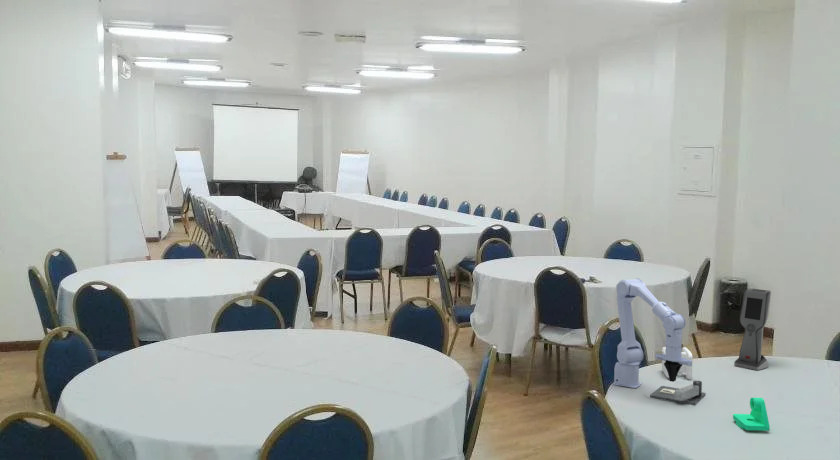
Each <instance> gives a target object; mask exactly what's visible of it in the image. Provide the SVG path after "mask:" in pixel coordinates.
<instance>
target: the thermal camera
mask: <svg viewBox="0 0 840 460" xmlns="http://www.w3.org/2000/svg"><path fill="white" fill-rule="evenodd" d="M771 296H772V291H771V290H765V289H758V288H748V289H745V290H744V293H743V297H742V304H741V310H740V313H739V323H740V325H741V327H743V328H744V335H743V339H742V343H741V345H740V350H739V355H738V358H737V359H736V360H735V361H734V363H733V365H734V367H739V368H743V369H746V370H747V369H748V370H752V371H758V372H759V371H761V370H764V369H767V368H769V363H768V360H767V359H766V357H765V356H764V355H763V354H762V350H763V341H764V340H763V339H764V338H763V337H764V327H765V325H766V324H767V321H768V318H769V315H770V314H769V313H770V306H771V299H772V298H771Z"/></svg>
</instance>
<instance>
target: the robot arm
mask: <svg viewBox="0 0 840 460" xmlns="http://www.w3.org/2000/svg"><path fill="white" fill-rule="evenodd" d="M615 287H616V304H617V312H618V319H619V329H620V337H621V341H620V342H619V344H617V352H616V359H617V360H618V361H617V362H615V365H614V369H613V370H614V377H613V380H614V381H613V385H614V386H619V387H620V386H621V387H625V388H632V389H637V388H639V387H640V386H641V385H643V384H642V382H640V381H639V379H640V378H639V377H640V373H639V372H640V365H641V362H642V361H643V360H644V352H643V349H642V347H641V343H640V342H639V341H638V340H637V339H636V333H635V325H634V317H633V309H632V301H633V300H634V299H635V298H636V297H640V298H641V300H642V301H644V302H645V303H646V304H647V305H649V306H650V307H651V308H652V313H653V314H654V315H655V316H656V317H657V318H658V319H659V320H660V321H662V326H663V328H664V333H665V347H666V355H664V354H662V353H655V354H654V360H660V361H662V360H664V361H666V362H665V363H664V366H665V367H666V369H667V372H668V375H669V378H668V380H669V381H670V382H672V383H673V382H676V380H677V376H678V375H679V373H678V372H679V370H680V368H681V366H682V364H683V365H687V366H692V367H693V361H691V360H688V359H685V358H682V357H681V352H682V348H683V346H682V344H683V343H682V341H683V340H682V339H683V329H684V328H685V327H686V319H685V317H684V316H683V315H682V314H681V313H680V314H679V313H677V312H676V311H674V310H673V309H671V308H670V307H669V306H668V303H666V302H664V301H660V300H659V299H657V298H656V297H655V296H654V294H653V293H652V292H651V291H650V290H649V289H648V288H647V284H646V283H645V282H644V281H643V280H642V279H640V278H634V279H621V280H619V282H618V283H617V284H616V286H615Z"/></svg>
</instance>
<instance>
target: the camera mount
mask: <svg viewBox="0 0 840 460" xmlns="http://www.w3.org/2000/svg"><path fill="white" fill-rule="evenodd" d="M749 407H750V409H751V411H750V413H732V420H734V422H735V424H736V425H735V426H737V427H739V429H740V430H741V429H742V430H746V431H766V432H767V431H770V427H771V426H770V422H769V416H768V412H767V406H766V402H765V399H764V398H763V397H750V400H749Z"/></svg>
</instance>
